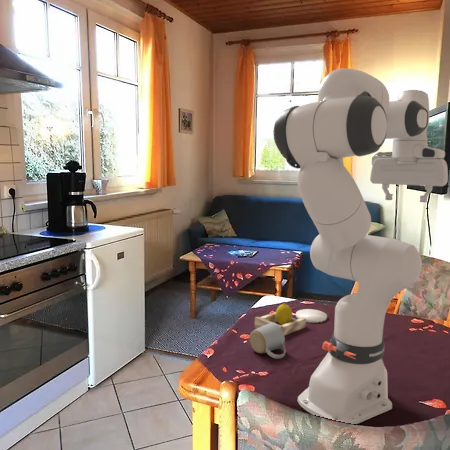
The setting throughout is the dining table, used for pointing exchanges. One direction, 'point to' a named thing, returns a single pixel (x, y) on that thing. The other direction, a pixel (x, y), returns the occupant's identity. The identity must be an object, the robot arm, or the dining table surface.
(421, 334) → the dining table surface
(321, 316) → the saucer
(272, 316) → the wooden rectangular frame
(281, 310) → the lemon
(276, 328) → the ceramic mug
